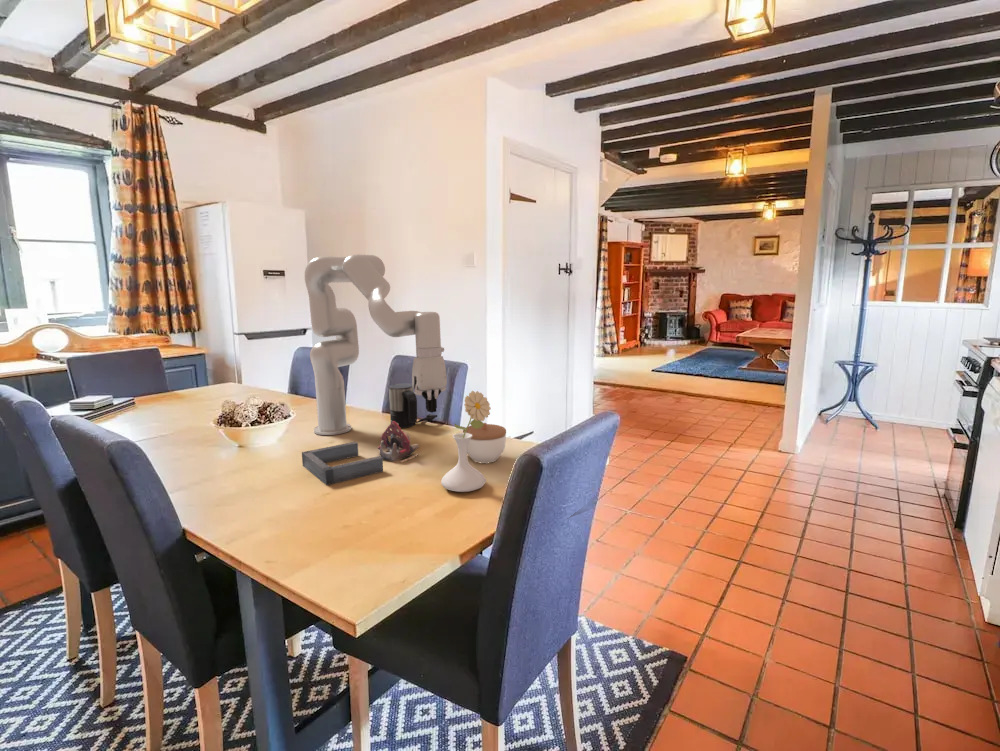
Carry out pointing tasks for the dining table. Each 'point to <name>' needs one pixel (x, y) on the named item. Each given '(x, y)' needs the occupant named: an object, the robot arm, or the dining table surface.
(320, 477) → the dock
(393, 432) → the brake caliper
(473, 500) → the dining table surface
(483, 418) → the flower in vase
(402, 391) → the milk frother
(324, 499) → the dining table surface
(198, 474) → the dining table surface
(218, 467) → the dining table surface
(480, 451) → the lidded bowl
